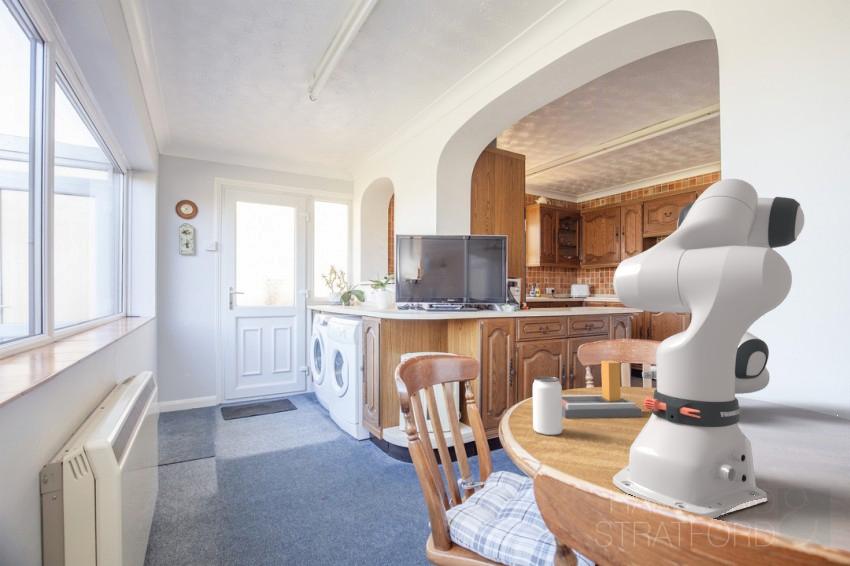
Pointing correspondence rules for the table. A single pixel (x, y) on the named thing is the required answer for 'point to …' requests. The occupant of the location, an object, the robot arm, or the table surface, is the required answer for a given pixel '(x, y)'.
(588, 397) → the grey tray
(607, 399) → the handle
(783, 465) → the table surface
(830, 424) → the table surface
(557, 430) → the can
